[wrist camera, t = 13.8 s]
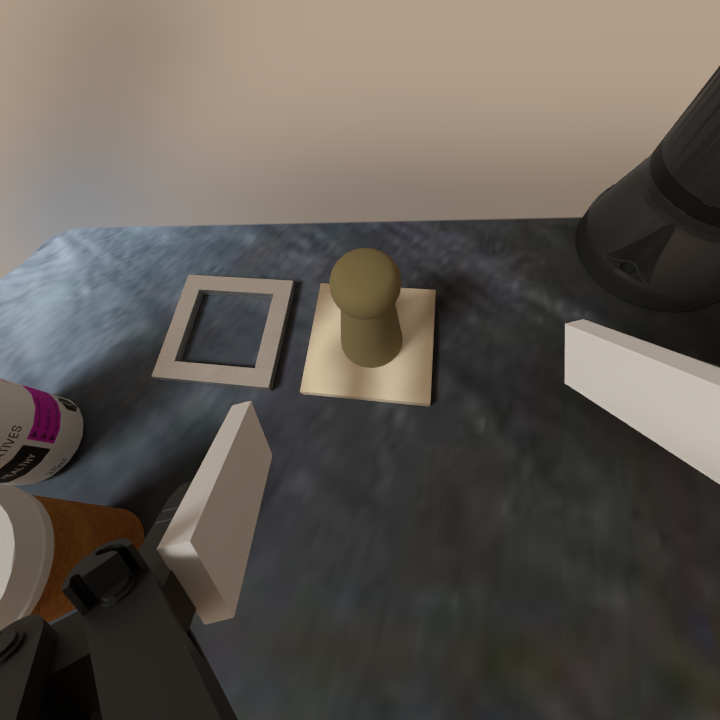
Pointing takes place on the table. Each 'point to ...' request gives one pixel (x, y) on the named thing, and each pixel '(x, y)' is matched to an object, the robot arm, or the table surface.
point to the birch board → (386, 383)
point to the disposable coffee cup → (50, 548)
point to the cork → (368, 306)
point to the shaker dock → (221, 375)
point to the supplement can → (35, 433)
